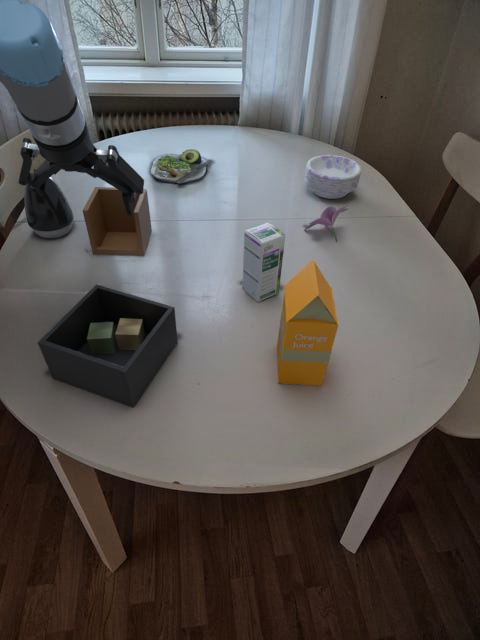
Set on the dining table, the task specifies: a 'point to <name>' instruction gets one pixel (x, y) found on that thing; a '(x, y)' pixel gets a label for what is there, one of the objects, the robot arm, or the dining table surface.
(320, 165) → the paper bowls
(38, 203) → the dark grey rounded cone
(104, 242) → the box
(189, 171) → the salad plate
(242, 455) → the dining table surface
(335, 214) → the lily
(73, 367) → the basket
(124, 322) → the cube cream
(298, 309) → the orange juice
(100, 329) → the cube sage
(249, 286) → the syrup box
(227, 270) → the dining table surface
